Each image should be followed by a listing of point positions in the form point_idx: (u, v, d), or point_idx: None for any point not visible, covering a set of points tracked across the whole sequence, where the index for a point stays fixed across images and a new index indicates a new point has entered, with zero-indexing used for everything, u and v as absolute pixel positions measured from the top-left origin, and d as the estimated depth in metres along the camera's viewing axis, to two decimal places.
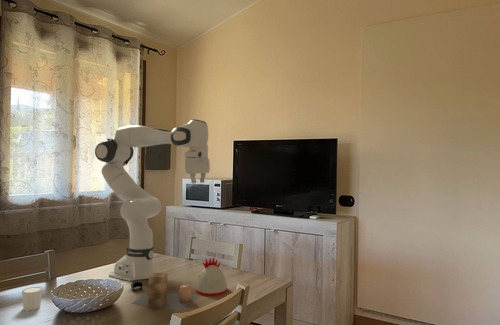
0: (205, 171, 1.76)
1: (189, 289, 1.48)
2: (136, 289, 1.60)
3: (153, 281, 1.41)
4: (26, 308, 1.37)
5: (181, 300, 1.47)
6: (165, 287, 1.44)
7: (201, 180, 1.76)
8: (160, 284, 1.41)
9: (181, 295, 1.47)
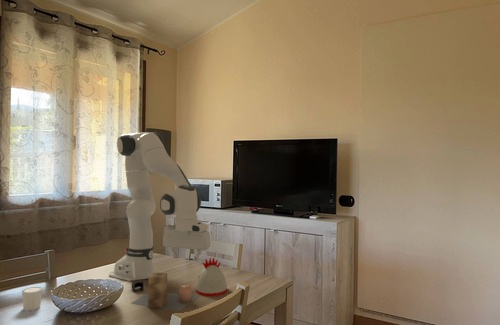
0: None
1: (189, 289, 1.48)
2: (137, 289, 1.60)
3: (153, 281, 1.41)
4: (26, 308, 1.37)
5: (181, 300, 1.47)
6: (165, 287, 1.44)
7: (177, 255, 1.50)
8: (160, 284, 1.41)
9: (181, 295, 1.47)
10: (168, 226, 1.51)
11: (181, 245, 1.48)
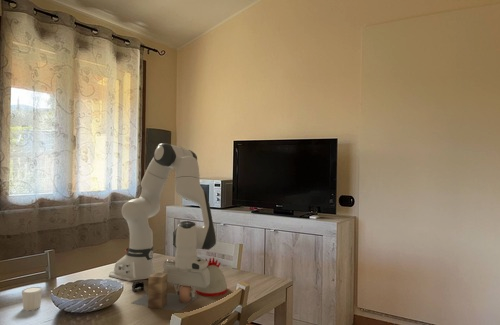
0: None
1: (189, 289, 1.48)
2: (137, 290, 1.60)
3: (153, 281, 1.41)
4: (26, 308, 1.37)
5: (181, 300, 1.47)
6: (165, 287, 1.44)
7: None
8: (160, 284, 1.41)
9: (181, 295, 1.47)
10: (168, 262, 1.51)
11: (181, 282, 1.48)
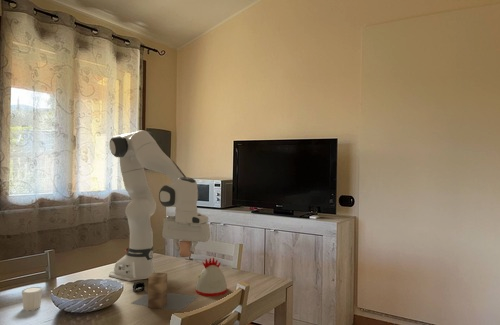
0: None
1: (189, 244, 1.47)
2: (138, 290, 1.59)
3: (153, 281, 1.41)
4: (26, 308, 1.37)
5: (181, 254, 1.47)
6: (165, 287, 1.44)
7: None
8: (160, 284, 1.41)
9: (181, 249, 1.47)
10: (168, 218, 1.51)
11: (181, 237, 1.47)
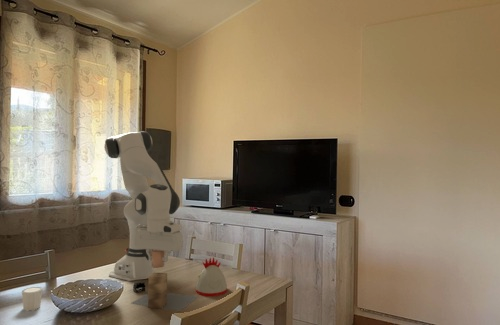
0: None
1: (162, 253, 1.42)
2: (138, 290, 1.59)
3: (153, 281, 1.41)
4: (26, 308, 1.37)
5: (153, 265, 1.42)
6: (165, 287, 1.44)
7: None
8: (160, 284, 1.41)
9: (153, 260, 1.42)
10: (140, 227, 1.46)
11: (153, 247, 1.42)
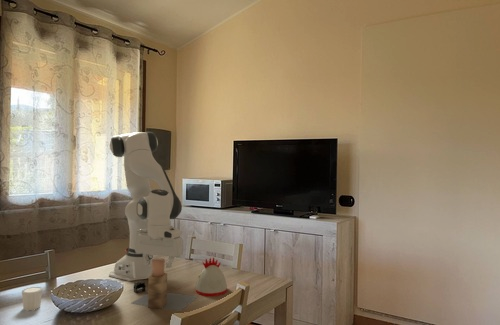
0: None
1: (162, 262, 1.42)
2: (139, 290, 1.59)
3: (153, 281, 1.41)
4: (26, 308, 1.37)
5: (153, 274, 1.42)
6: (165, 287, 1.44)
7: (149, 262, 1.45)
8: (160, 284, 1.41)
9: (153, 269, 1.42)
10: (140, 231, 1.46)
11: (153, 252, 1.42)
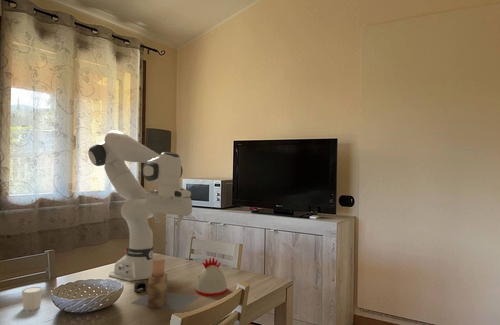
0: None
1: (162, 262, 1.42)
2: (139, 291, 1.59)
3: (153, 281, 1.41)
4: (26, 308, 1.37)
5: (153, 274, 1.42)
6: (165, 287, 1.44)
7: (159, 221, 1.52)
8: (160, 284, 1.41)
9: (153, 269, 1.42)
10: (151, 192, 1.53)
11: (163, 211, 1.50)
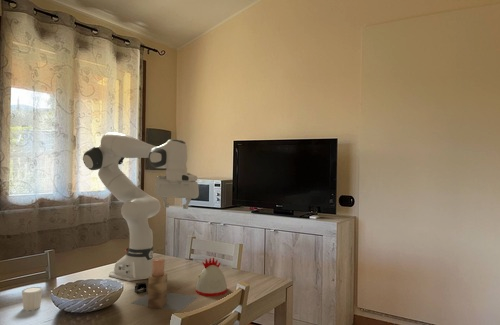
0: None
1: (162, 262, 1.42)
2: (140, 291, 1.58)
3: (153, 281, 1.41)
4: (26, 308, 1.37)
5: (153, 274, 1.42)
6: (165, 287, 1.44)
7: (167, 205, 1.60)
8: (160, 284, 1.41)
9: (153, 269, 1.42)
10: (159, 177, 1.60)
11: (172, 195, 1.57)
